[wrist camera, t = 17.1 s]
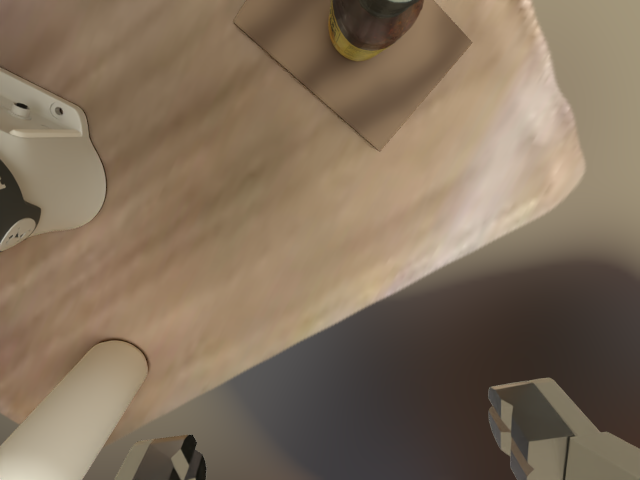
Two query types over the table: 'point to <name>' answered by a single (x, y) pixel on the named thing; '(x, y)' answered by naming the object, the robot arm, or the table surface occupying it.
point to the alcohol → (75, 416)
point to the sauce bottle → (369, 25)
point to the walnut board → (357, 76)
